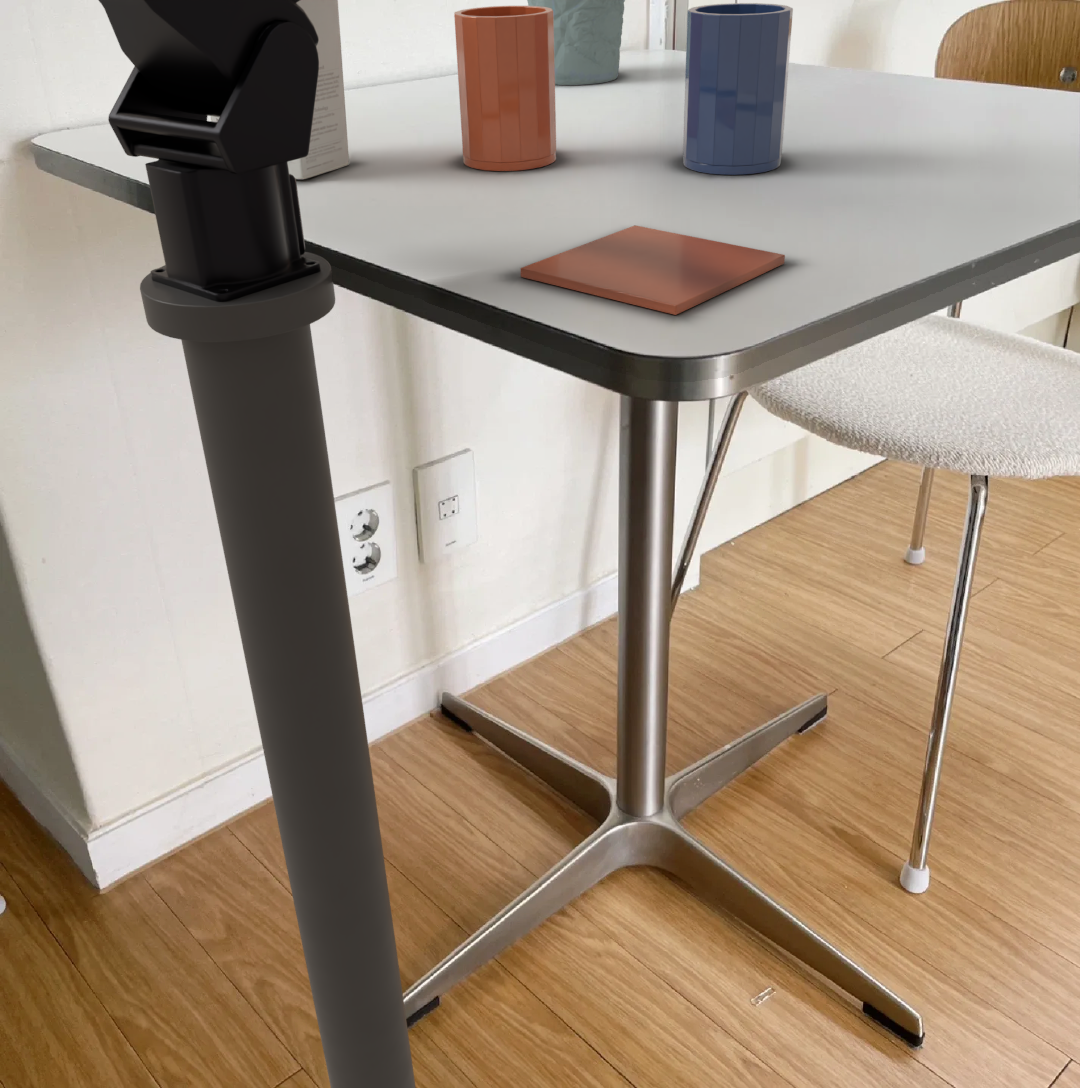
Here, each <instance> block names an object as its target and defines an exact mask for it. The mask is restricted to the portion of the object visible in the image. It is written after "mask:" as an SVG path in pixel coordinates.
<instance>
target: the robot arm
mask: <svg viewBox="0 0 1080 1088" xmlns="http://www.w3.org/2000/svg"><path fill="white" fill-rule="evenodd" d="M298 1H300V0H98V2H99V4H101V5H102V7H103V9H104V11H105V14H106V16H107V18H108V21H109V23H110V26H111V28H112V30H113V33H114V35H115V37H116V41H117V42H118V44H119V47H120V50H121V51H122V53H123V54H124V55H125V56H126V58H127V59H128V60H129V62H130V63H132V65H133V69H132V71H131V72H130V73H129V76H128V78H127V80H126V81H125V83H124V86H123V87H122V89H121V91H120V93H119V95H118V96H117V99H116V101H115V102H114V104H113V107H112V108H111V109H110V112H109V113H108V119H107V120H108V124H109V126H110V127H111V129H112V132H113V133H114V135H115V136H116V138H117V140H118V142H119V144H120V145H121V148H122V149H123V152H124V154H125V155H126V156H128V157H133V158H137V157H145V158H151V159H157V160H154V161H150V162H146V163H145V164H144V165H145V170H146V174H147V180H148V185H149V189H150V194H151V200H152V205H153V210H154V214H155V220H156V225H157V230H158V234H159V240H160V245H161V250H162V255H163V260H164V265H166V266H164V265H163V266H164V267H162V266H160V267H161V268H160V267H157V268H153V269H152V270H151V271H150V273H151V277H152V280H153V281H155V282H158V283H161V284H164V285H167V286H171V287H174V288H177V289H180V290H183V291H186V292H189V293H192V294H195V295H198V296H201V297H204V298H207V299H210V300H213V301H216V302H228V301H231V300H234V299H238V298H241V297H244V296H247V295H250V294H253V293H256V292H259V291H262V290H265V289H268V288H272V287H275V286H278V285H281V284H284V283H287V282H290V281H293V280H296V279H299V278H302V277H306V276H309V275H312V274H315V273H318V272H320V271H321V268H320V262H318V261H315V260H312V259H308V258H304V257H301V256H300V255H303V254H304V253H305V252H306V242H305V236H304V227H303V221H302V214H301V207H300V200H299V192H298V191H299V190H298V185H297V179H296V178H295V177H294V176H293V175H291V174H289V169H288V161H292V160H296V159H299V158H303V157H306V156H307V155H308V153H309V145H310V137H311V129H312V121H313V113H314V105H315V97H316V89H317V80H318V72H319V58H318V52H317V48H316V46H317V44H318V41H319V38H318V35H317V32H316V30H315V27H314V25H313V23H312V22H311V20H310V19H309V17H308V16H307V14H306V13H305V11H304V10H303V9H302V8H301V7H300V6H299V5H298V4H297V2H298ZM211 116H214V117H220V118H219V120H218V122H211V120H208V117H211Z"/></svg>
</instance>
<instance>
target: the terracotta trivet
mask: <svg viewBox="0 0 1080 1088" xmlns="http://www.w3.org/2000/svg"><path fill="white" fill-rule="evenodd" d="M785 258H786V254H783V253H778V252H773V251H767V250H762V249H757V248H753V247H747V246H742V245H738V244H731V243H727V242H721V241H717V240H712V239H707V238H702V237H697V236H692V235H691V236H690V235H687V234H681V233H676V232H670V231H667V230H661V229H655V228H651V227H645V226H642V225H641V226H640V225H632V226H630V227H629V226H628V227H627V228H624V229H622V230H619V231H616V232H614V233H611V234H608V235H605V236H602V237H599V238H597V239H595V240H594V239H593V240H592V241H589V242H586V243H584V244H580V245H579V246H575V247H573V248H570V249H568V250H565V251H562V252H560V253H557V254H555V255H552V256H549V257H546V258H543V259H541V260H538V261H536V262H533V263H530V264H528V265H527V264H526V265H525V266H522V267H520V269H519V270H520V277H521V278H523V279H528V280H532V281H537V282H539V283H544V284H549V285H553V286H556V287H561V288H565V289H569V290H572V291H577V292H580V293H584V294H589V295H592V296H596V297H601V298H605V299H609V300H612V301H618V302H621V303H624V304H628V305H629V304H630V305H634V306H638V307H641V308H646V309H649V310H653V311H658V312H662V313H666V314H670V315H675V316H676V315H679V314H681V313H683V312H685V311H688V310H689V309H692V308H694V307H695V306H698V305H700V304H703V303H704V302H706V301H708V300H711V299H713V298H716V297H717V296H719V295H721V294H723V293H725V292H728V291H730V290H732V289H733V288H736V287H738V286H740V285H743V284H744V283H747V282H748V281H751V280H753V279H755V278H757V277H759V276H761V275H763V274H765V273H767V272H769V271H772V270H774V269H776V268H778V267H780V266H782V265H784V264H785V260H786V259H785Z"/></svg>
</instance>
